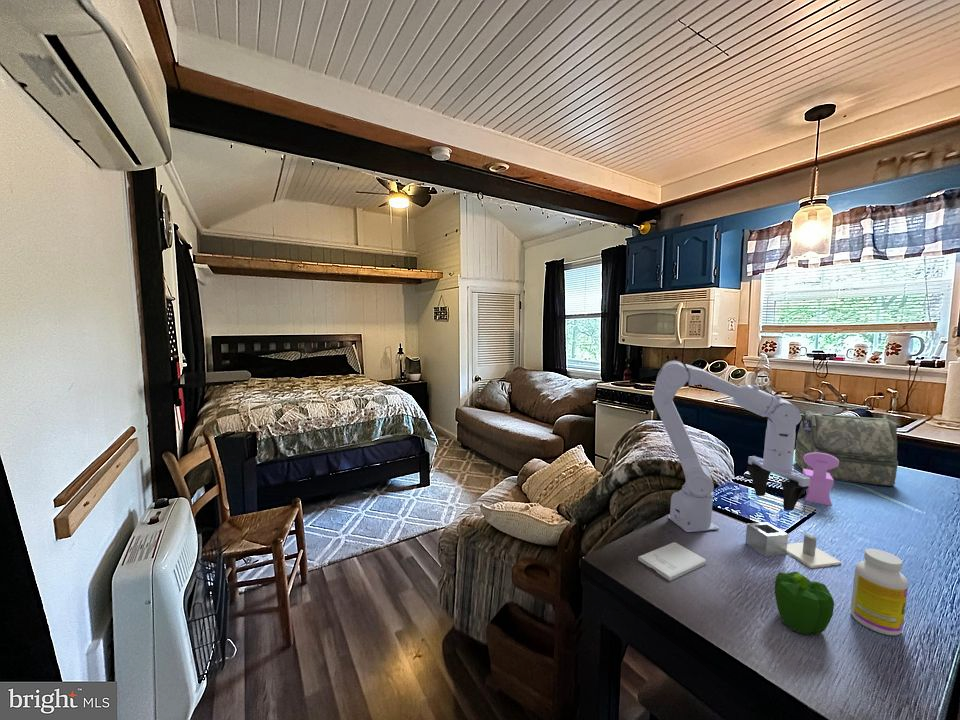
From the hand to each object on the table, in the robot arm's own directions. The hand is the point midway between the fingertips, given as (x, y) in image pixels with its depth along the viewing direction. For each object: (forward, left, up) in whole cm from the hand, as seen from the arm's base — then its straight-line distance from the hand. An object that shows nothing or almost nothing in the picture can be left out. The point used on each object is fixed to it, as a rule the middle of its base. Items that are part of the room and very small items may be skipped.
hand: (773, 502), depth 97 cm
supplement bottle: (-6, -27, -10) cm, 29 cm away
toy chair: (+34, +17, -10) cm, 40 cm away
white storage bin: (-5, -4, -10) cm, 11 cm away
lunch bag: (+61, +31, -10) cm, 70 cm away
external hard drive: (-31, -5, -10) cm, 33 cm away
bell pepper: (-20, -25, -10) cm, 33 cm away
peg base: (+2, -8, -10) cm, 12 cm away
